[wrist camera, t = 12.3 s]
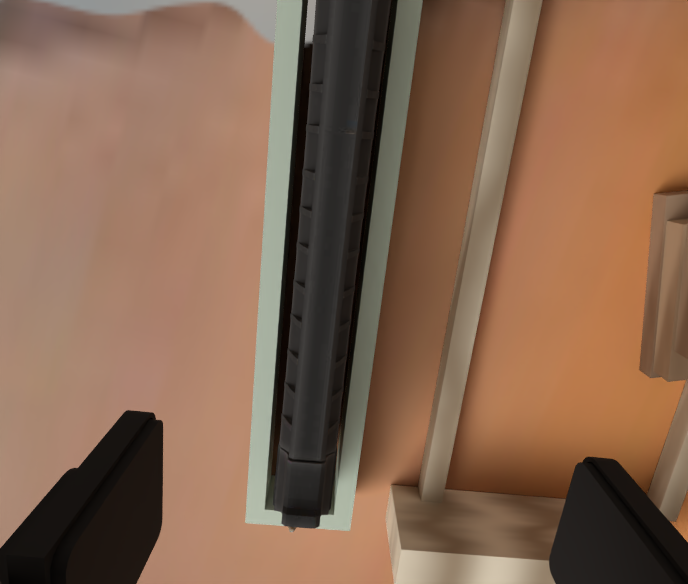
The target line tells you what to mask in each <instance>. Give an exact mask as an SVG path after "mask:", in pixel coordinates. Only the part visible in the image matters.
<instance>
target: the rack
mask: <svg viewBox="0 0 688 584" xmlns="http://www.w3.org/2000/svg"><path fill="white" fill-rule="evenodd" d="M542 1H543V0H506V2H505V7H504V13H503V18H502V24H501V29H500V35H499V41H498V46H497V52H496V57H495V63H494V68H493V74H492V79H491V85H490V90H489V96H488V101H487V107H486V112H485V118H484V123H483V129H482V135H481V140H480V146H479V151H478V157H477V162H476V168H475V173H474V179H473V184H472V190H471V195H470V201H469V206H468V212H467V217H466V223H465V229H464V234H463V240H462V245H461V251H460V256H459V262H458V267H457V273H456V278H455V284H454V289H453V295H452V300H451V306H450V311H449V317H448V323H447V328H446V334H445V339H444V345H443V350H442V356H441V361H440V367H439V372H438V378H437V383H436V389H435V394H434V400H433V405H432V411H431V416H430V422H429V428H428V433H427V439H426V444H425V450H424V455H423V461H422V466H421V472H420V477H419V483H418V487H412V486H400V485H391V487H390V494H389V500H388V506H387V512H386V525H387V533H388V541H389V548H390V556H391V563H392V571H393V578H394V584H556V583H555V581H554V579H553V577H552V575H551V572H550V568H549V557H550V553H551V549H552V546H553V542H554V539H555V535H556V532H557V529H558V525H559V522H560V518H561V515H562V511H563V508H564V504H565V501H566V499H560V498H547V497H535V496H523V495H511V494H498V493H486V492H474V491H461V490H449V489H445V485H446V480H447V475H448V470H449V465H450V460H451V455H452V450H453V445H454V440H455V435H456V430H457V425H458V420H459V415H460V410H461V405H462V400H463V395H464V390H465V385H466V380H467V375H468V370H469V365H470V360H471V355H472V350H473V345H474V340H475V335H476V330H477V325H478V320H479V315H480V310H481V305H482V300H483V296H484V291H485V286H486V281H487V276H488V271H489V266H490V261H491V256H492V251H493V246H494V241H495V236H496V231H497V226H498V221H499V216H500V211H501V206H502V201H503V196H504V191H505V186H506V181H507V176H508V171H509V166H510V161H511V156H512V151H513V146H514V141H515V136H516V131H517V126H518V121H519V116H520V111H521V106H522V101H523V96H524V91H525V86H526V81H527V76H528V71H529V66H530V61H531V56H532V51H533V46H534V41H535V36H536V31H537V26H538V21H539V16H540V11H541V6H542ZM687 490H688V380H686V383H685V386H684V389H683V392H682V395H681V398H680V401H679V404H678V407H677V409H676V412H675V415H674V418H673V421H672V424H671V427H670V430H669V433H668V436H667V438H666V441H665V444H664V447H663V450H662V453H661V456H660V459H659V462H658V465H657V468H656V470H655V473H654V476H653V479H652V482H651V485H650V488H649V491H648V494H647V496H648V497H649V498H650V500H651V501H652V502H653V503H654V504H655V505H656V507H657V508H658V509H659V510H660V511H661V512H662V513H663V515H664V516H665V517H666V518H667V519H668V520H669V521H675V522H676V520H677V517H678V515H679V512H680V509H681V506H682V504H683V501H684V498H685V496H686V493H687Z"/></svg>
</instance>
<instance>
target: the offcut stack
mask: <svg viewBox="0 0 688 584" xmlns="http://www.w3.org/2000/svg"><path fill="white" fill-rule="evenodd" d="M639 370H640V371H641V372H643V373H644V374H645V375H647V376H648V377H649V378H656V377H662V378H663V379H665V380H666V381H668V382H670V381H680V380H688V190H685V191H675V192H666V193H656V194H654V196H653V208H652V220H651V233H650V245H649V257H648V270H647V282H646V295H645V307H644V319H643V332H642V344H641V356H640V369H639Z"/></svg>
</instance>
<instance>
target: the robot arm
mask: <svg viewBox="0 0 688 584" xmlns="http://www.w3.org/2000/svg"><path fill="white" fill-rule="evenodd" d="M162 496H163V422H162V421H161V420H156V418H155V414H154V413H150V412H140V411H130V410H128V411H126V412H124V413H123V415H122V416H121V417H120V418H119V419H118V421H117V422H116V423H115V424H114V425H113V427H112V428H111V429H110V430H109V431H108V433H107V434H106V435H105V436H104V437H103V439H102V440H101V441H100V442H99V443H98V445H97V446H96V447H95V448H94V449H93V451H92V452H91V453H90V454H89V455H88V457H87V458H86V459H85V460H84V461H83V463H82V464H81V465H80V466H79V467H78V468H73V469H70V470H68V471H67V472H66V473H65V474H64V475H63V476H62V477H61V478H60V480H59V481H58V482H57V483H56V484H55V485H54V487H53V488H52V489H51V490H50V491H49V492H48V494H47V495H46V496H45V497H44V498H43V499H42V501H41V502H40V503H39V504H38V505H37V506H36V508H35V509H34V510H33V511H32V512H31V513H30V515H29V516H28V517H27V518H26V519H25V520H24V521H23V523H22V524H21V525H20V526H19V527H18V528H17V530H16V531H15V532H14V533H13V534H12V535H11V537H10V538H9V539H8V540H7V541H6V542H5V544H4V545H3V546H2V547H1V548H0V584H136V583H137V581H138V579H139V577H140V575H141V573H142V571H143V569H144V566H145V564H146V562H147V560H148V558H149V556H150V554H151V552H152V550H153V548H154V546H155V543H156V541H157V539H158V537H159V534H160V530H161V526H162ZM549 568H550V572H551V575H552V577H553V579H554V581H555V583H556V584H688V542H687V541H686V540H685V539H684V538H683V537H682V535H681V534H680V533H679V532H678V531H677V530H676V528H675V527H674V526H673V525H672V524H671V523H670V522H669V520H668V519H667V518H666V517H665V516H664V515H663V513H662V512H661V511H660V510H659V509H658V508H657V507H656V505H655V504H654V503H653V502H652V501H651V500H650V498H649V497H648V496H647V495H646V494H645V493H644V492H643V490H642V489H641V488H640V487H639V486H638V485H637V483H636V482H635V481H634V480H633V479H632V478H631V477H630V475H629V474H628V473H627V472H626V471H625V470H624V468H623V467H622V466H621V465H620V464H619V463H618V462H617V461H616V460H614V459H607V458H597V457H586V458H585V459H584V460H583V462H582V463H581V462H580V463H578V464H577V465H576V467H575V470H574V473H573V477H572V480H571V484H570V487H569V491H568V494H567V497H566V501H565V504H564V508H563V511H562V515H561V518H560V522H559V525H558V529H557V532H556V535H555V539H554V542H553V546H552V549H551V553H550V557H549Z"/></svg>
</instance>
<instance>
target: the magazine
mask: <svg viewBox="0 0 688 584" xmlns="http://www.w3.org/2000/svg"><path fill="white" fill-rule="evenodd" d="M390 4H391V0H316V11H315V26H314V35H313V52H312V66H311V79H310V84H309V91H310V92H309V105H308V118H307V124H306V144H305V156H304V169H303V172H302V175H303V181H302V193H301V205H300V209H299V212H300V217H299V230H298V241H297V246H296V247H297V254H296V265H295V277H294V281H293V285H294V289H293V300H292V311H291V316H290V319H291V323H290V334H289V345H288V350H287V354H288V357H287V367H286V378H285V383H284V387H285V389H284V400H283V411H282V415H281V419H282V421H281V432H280V442H279V445H278V454H277V464H276V475H275V485H274V496H273V505H274V511H279V512H281V513H282V521H281V524H283V525H284V526H288V528H289V531H290V532H294V530H295V529H296V527H300V528H317V527H319V526H320V517H321V516H322V515H328V513H329V510H330V509H331V503H332V494H333V484H334V475H335V466H336V456H337V438H338V429H339V424H340V411H341V401H342V392H343V389H344V386H343V383H344V374H345V365H346V359H347V347H348V339H349V330H350V324H351V313H352V304H353V295H354V291H355V279H356V270H357V262H358V254H359V250H360V248H359V245H360V237H361V229H362V221H363V218H364V204H365V196H366V188H367V183H368V178H369V176H368V172H369V164H370V156H371V148H372V140H373V138H374V125H375V117H376V109H377V101H378V99H379V86H380V79H381V71H382V63H383V56H384V51H385V46H386V44H385V41H386V34H387V26H388V19H389V12H390Z"/></svg>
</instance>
